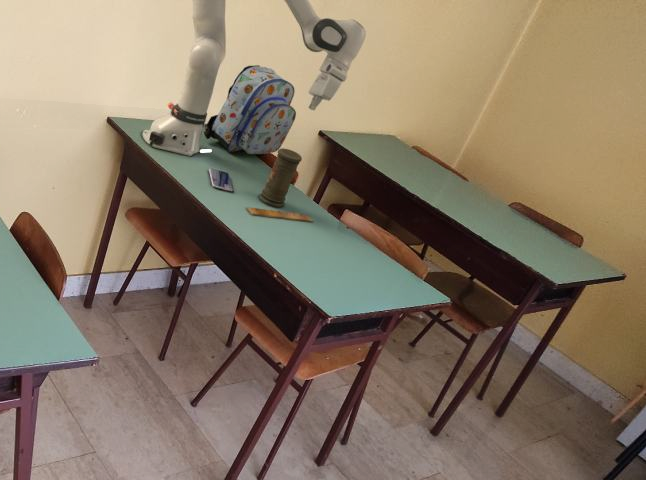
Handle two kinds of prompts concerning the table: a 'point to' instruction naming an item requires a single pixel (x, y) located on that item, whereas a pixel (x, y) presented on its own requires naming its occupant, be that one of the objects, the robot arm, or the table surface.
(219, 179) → the mobile phone
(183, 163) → the table surface
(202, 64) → the robot arm
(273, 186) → the container
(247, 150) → the backpack
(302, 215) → the ruler
